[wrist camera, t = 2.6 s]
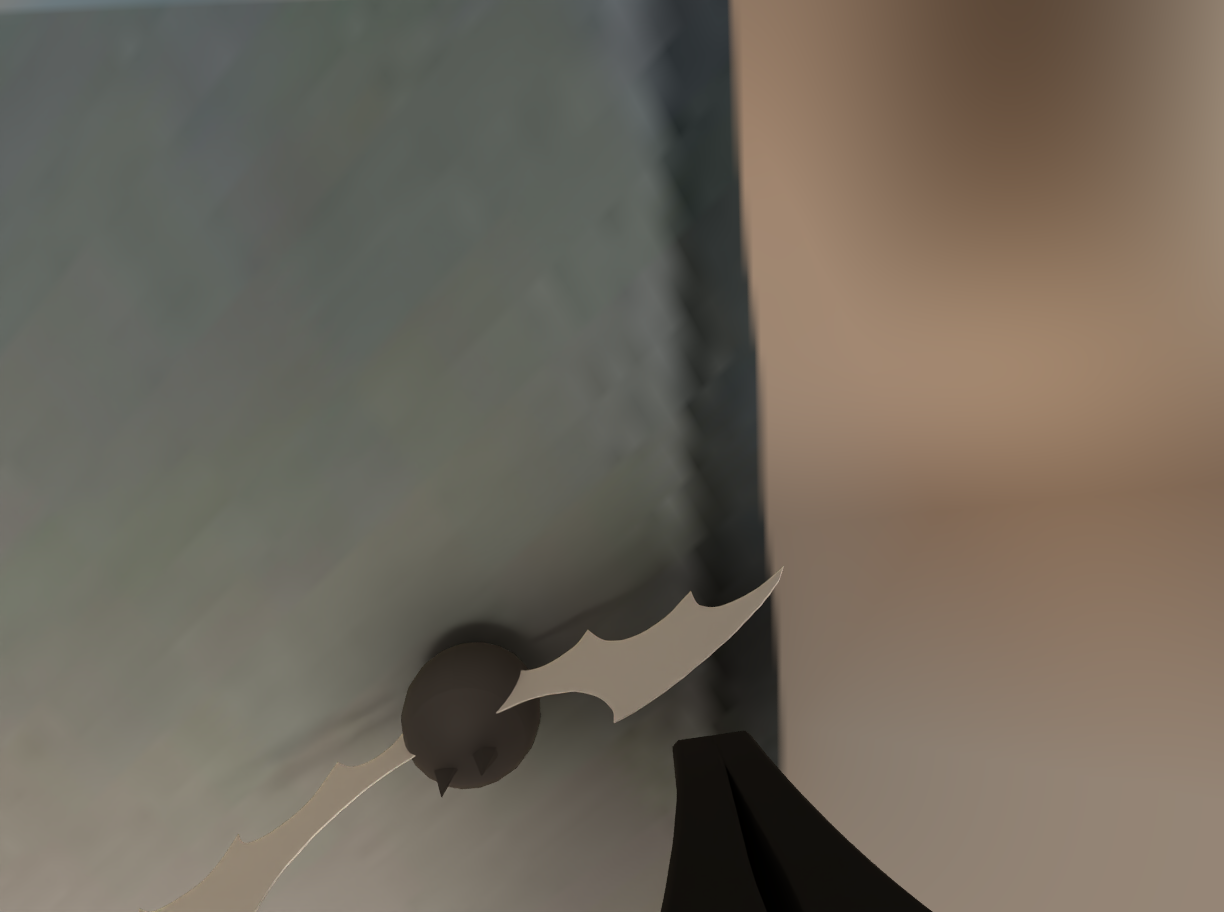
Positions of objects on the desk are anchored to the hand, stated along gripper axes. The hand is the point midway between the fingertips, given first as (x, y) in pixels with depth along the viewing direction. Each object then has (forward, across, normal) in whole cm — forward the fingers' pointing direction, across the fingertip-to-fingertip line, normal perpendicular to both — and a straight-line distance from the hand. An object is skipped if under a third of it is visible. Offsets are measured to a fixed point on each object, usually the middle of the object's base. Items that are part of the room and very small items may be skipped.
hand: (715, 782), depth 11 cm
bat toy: (+5, +5, 0) cm, 7 cm away
